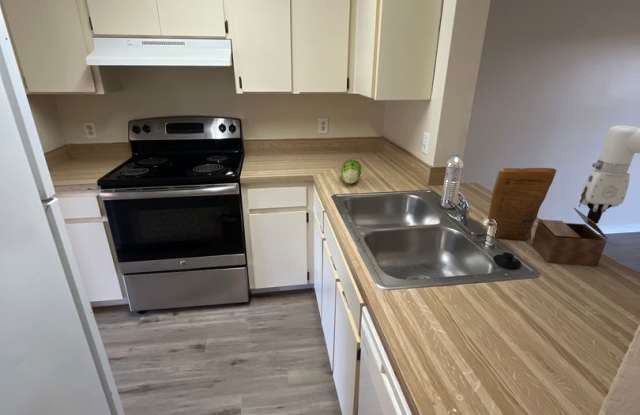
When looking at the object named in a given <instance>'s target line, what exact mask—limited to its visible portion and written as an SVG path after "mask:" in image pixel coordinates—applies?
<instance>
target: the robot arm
mask: <svg viewBox="0 0 640 415" xmlns="http://www.w3.org/2000/svg"><path fill="white" fill-rule="evenodd" d="M635 154H640V127H638V126H633V125H625V124H624V125H623V124H620V125H617V124H616V125H613V126H611V127H609V129H608V132H607V135H606V137H605V139H604V142H603V146H602V149H601V152H600V154H599V157H598V159H597V161H596V162H593V163H592V164H591V166H592V168H594V169H592V171H591V172H590V173H589V175H588V176H587V179H586V181H585V183H584V185H583V187H582V190H581V193H580V197H581V198H580V199H579V201H578V202H579V204H581V205H583V206H587V208H588V209H589V210H588V213H587V215H586V217H588V218H589V219H590V220H592V221H593V222H595V223H596V224H599V222H600V220H601V218H602V215H603V213H605V212H606V211H607V210H608V209H610V208H615V207H619V206H620V205H622V204H623V203H624V201H625V200H626V199H625V198H626V197H627V192H628V189H629V185H630V176H631V174H630V173H629V169H630V166H631V164H632V162H633V160H634V156H635Z"/></svg>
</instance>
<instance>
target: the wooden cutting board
mask: <svg viewBox="0 0 640 415" xmlns="http://www.w3.org/2000/svg"><path fill="white" fill-rule="evenodd" d="M556 174H557V169H556V168H554V167H524V168H523V167H522V168H519V167H515V168H513V167H503V168H502V170H498V173H497V176H496V178H495V182H494V186H493V189H492V192H491V198H490V202H489V203H490V204H489V211H488V217H487V220H488V219H494V220H495V221H496V223H497V230H496V233H495V237H496V238H495V239H504V240H516V241H524V242H526V241H529V240H530V239H532V230H533V226H534V224H535V221H536V220H537V217H538V214H539V211H540V209H541V206H542V204H543V202H544V201H545V199H546V197H547V194H548V192H549V190H550V187H551V186H552V184H553V182H554V179H555V176H556ZM486 231H487V228H486V230H485V231H484V234H485V233H486Z"/></svg>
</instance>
